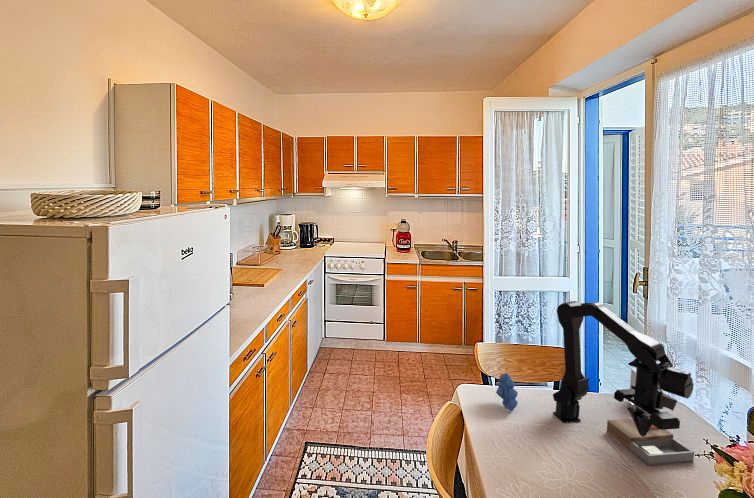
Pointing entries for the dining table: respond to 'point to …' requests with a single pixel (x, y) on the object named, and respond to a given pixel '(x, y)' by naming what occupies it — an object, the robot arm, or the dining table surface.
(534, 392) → the dining table surface
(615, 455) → the dining table surface
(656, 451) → the sage tile
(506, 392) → the grapes
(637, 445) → the tray
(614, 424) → the walnut board
